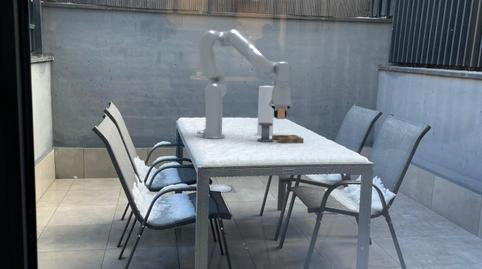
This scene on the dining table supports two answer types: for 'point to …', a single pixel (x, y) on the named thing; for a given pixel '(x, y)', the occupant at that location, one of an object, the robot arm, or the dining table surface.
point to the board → (287, 138)
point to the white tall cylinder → (265, 108)
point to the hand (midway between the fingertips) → (280, 117)
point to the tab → (281, 113)
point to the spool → (265, 132)
